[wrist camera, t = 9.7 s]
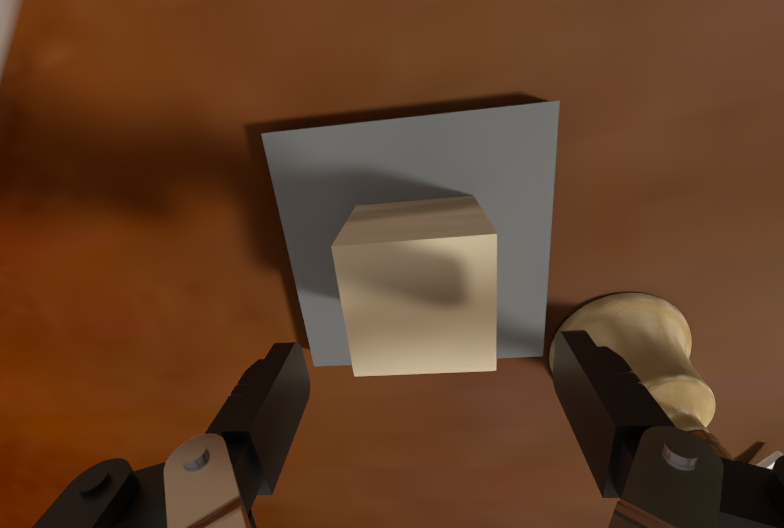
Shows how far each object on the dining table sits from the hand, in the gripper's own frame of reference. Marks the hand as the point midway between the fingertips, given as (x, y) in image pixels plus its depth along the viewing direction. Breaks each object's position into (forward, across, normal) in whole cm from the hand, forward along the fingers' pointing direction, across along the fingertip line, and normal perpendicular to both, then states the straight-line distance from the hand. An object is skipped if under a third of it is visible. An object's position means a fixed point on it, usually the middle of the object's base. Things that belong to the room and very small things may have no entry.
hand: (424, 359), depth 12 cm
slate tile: (+10, 0, 0) cm, 11 cm away
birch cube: (+9, 0, 0) cm, 9 cm away
